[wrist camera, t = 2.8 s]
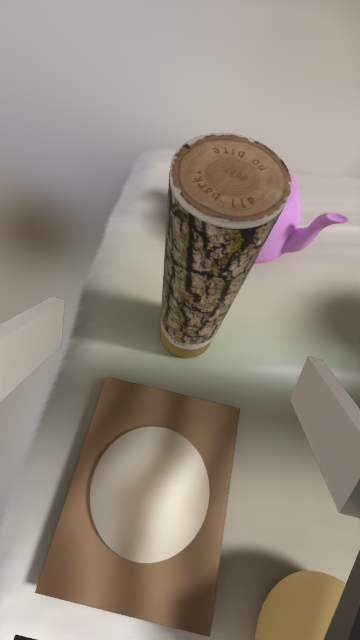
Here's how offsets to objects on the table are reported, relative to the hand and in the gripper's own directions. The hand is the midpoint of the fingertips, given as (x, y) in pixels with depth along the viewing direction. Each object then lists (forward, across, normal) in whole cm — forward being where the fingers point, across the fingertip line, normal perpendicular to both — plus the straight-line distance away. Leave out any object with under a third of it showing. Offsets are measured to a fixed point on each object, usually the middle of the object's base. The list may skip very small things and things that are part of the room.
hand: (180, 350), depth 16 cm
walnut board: (+9, 0, -21) cm, 23 cm away
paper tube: (+22, +1, -8) cm, 23 cm away
